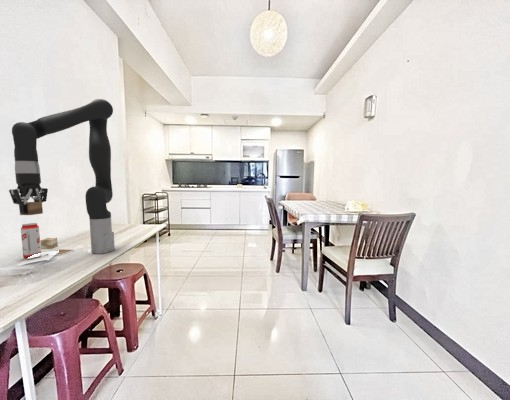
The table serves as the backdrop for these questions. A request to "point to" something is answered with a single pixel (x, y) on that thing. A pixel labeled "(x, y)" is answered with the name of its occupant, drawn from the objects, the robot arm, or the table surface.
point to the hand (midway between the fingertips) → (31, 213)
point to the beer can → (30, 239)
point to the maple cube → (48, 243)
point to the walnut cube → (33, 208)
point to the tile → (63, 251)
